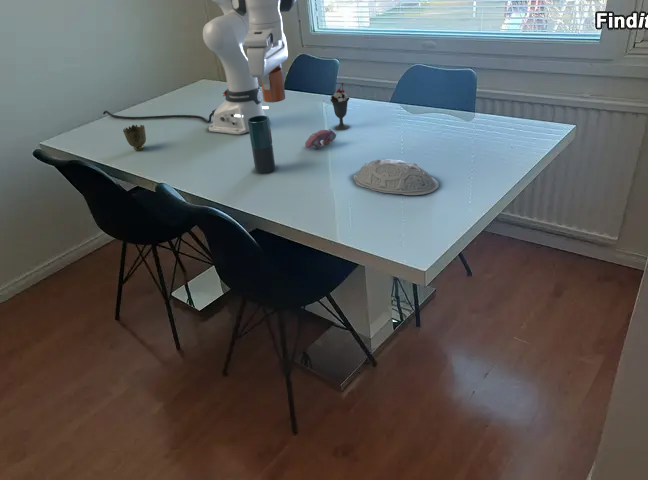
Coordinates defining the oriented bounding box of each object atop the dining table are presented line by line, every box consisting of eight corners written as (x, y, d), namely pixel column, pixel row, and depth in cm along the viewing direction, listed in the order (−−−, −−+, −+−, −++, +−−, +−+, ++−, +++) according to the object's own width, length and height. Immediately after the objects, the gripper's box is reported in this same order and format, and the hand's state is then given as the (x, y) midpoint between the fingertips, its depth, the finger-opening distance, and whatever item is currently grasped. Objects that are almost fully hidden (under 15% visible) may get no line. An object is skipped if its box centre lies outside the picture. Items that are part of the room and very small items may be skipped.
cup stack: (252, 173, 168) (244, 122, 159) (260, 165, 173) (252, 115, 164) (271, 174, 166) (264, 122, 157) (278, 165, 171) (271, 115, 162)
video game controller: (309, 155, 180) (312, 139, 174) (303, 145, 182) (306, 130, 176) (335, 147, 183) (339, 132, 177) (329, 138, 185) (332, 122, 179)
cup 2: (153, 145, 198) (148, 124, 194) (142, 153, 192) (136, 131, 188) (136, 145, 200) (130, 124, 196) (125, 153, 195) (118, 131, 190)
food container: (422, 199, 141) (422, 174, 138) (342, 186, 156) (341, 163, 153) (448, 182, 152) (449, 158, 149) (371, 171, 166) (370, 149, 163)
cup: (260, 102, 155) (256, 73, 151) (268, 95, 160) (264, 67, 156) (280, 102, 153) (277, 73, 149) (288, 95, 158) (285, 67, 154)
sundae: (351, 123, 197) (349, 81, 188) (350, 130, 191) (348, 86, 183) (332, 124, 198) (329, 82, 189) (331, 131, 192) (328, 88, 184)
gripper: (269, 24, 156) (275, 74, 163) (241, 41, 140) (248, 96, 148) (290, 24, 154) (295, 74, 161) (263, 41, 138) (270, 96, 146)
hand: (272, 85), depth 154 cm, fingers closed on cup, 6 cm apart
